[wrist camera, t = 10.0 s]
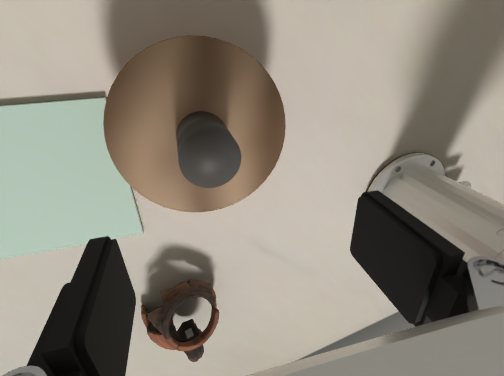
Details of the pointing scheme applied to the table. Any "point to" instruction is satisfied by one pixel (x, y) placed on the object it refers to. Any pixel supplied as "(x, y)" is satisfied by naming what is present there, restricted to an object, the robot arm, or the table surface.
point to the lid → (194, 124)
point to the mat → (59, 179)
